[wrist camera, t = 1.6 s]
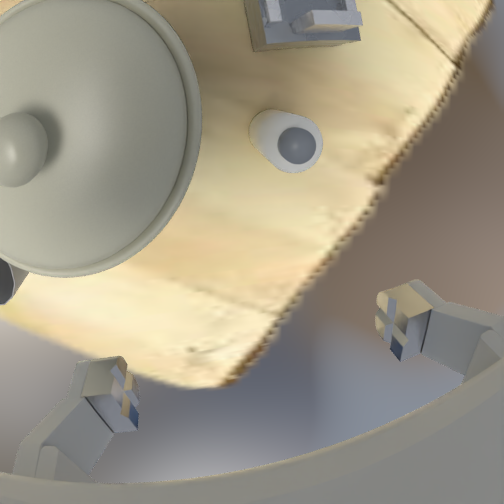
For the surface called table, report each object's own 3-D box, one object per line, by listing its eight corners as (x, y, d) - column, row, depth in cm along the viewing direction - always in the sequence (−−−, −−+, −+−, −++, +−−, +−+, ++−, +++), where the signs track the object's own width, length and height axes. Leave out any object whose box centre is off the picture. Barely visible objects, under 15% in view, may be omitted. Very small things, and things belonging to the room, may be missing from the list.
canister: (87, 9, 21) (-24, -59, 3) (231, 79, 28) (297, 60, 10) (16, 156, 27) (-110, 240, 9) (145, 222, 34) (110, 368, 16)
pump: (245, 113, 30) (263, 121, 23) (291, 106, 31) (324, 112, 23) (252, 158, 33) (273, 181, 25) (297, 150, 33) (329, 170, 26)
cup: (38, 191, 30) (-4, 228, 21) (57, 253, 34) (27, 302, 25) (-11, 205, 28) (-55, 242, 20) (8, 262, 33) (-25, 307, 24)
